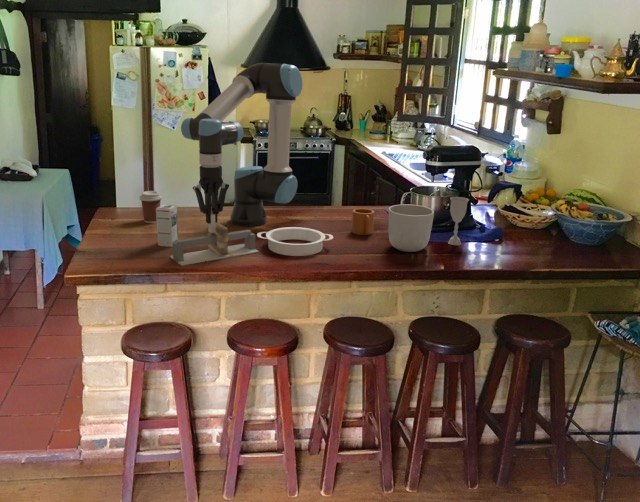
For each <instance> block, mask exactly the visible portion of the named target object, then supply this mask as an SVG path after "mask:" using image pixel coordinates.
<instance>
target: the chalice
mask: <svg viewBox="0 0 640 502" xmlns="http://www.w3.org/2000/svg"><path fill="white" fill-rule="evenodd" d="M449 199H450V207H449V208H450V209H449V212H450V216H451V218H452V221H453V222H455V224H454V230H453V233H454V234H453V235H452V236H451V237H450V238H449V240H448V241H447V243H448V244H449V245H451V246H460V245H462V242H461V239H460V237H458V232H459V231H458V229H459V223H461V222H462V220H463V218H464V217H465V215H466V213H467V208H468V203H469V201H470V199H469V198H468V197H463V196H450V198H449Z"/></svg>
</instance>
